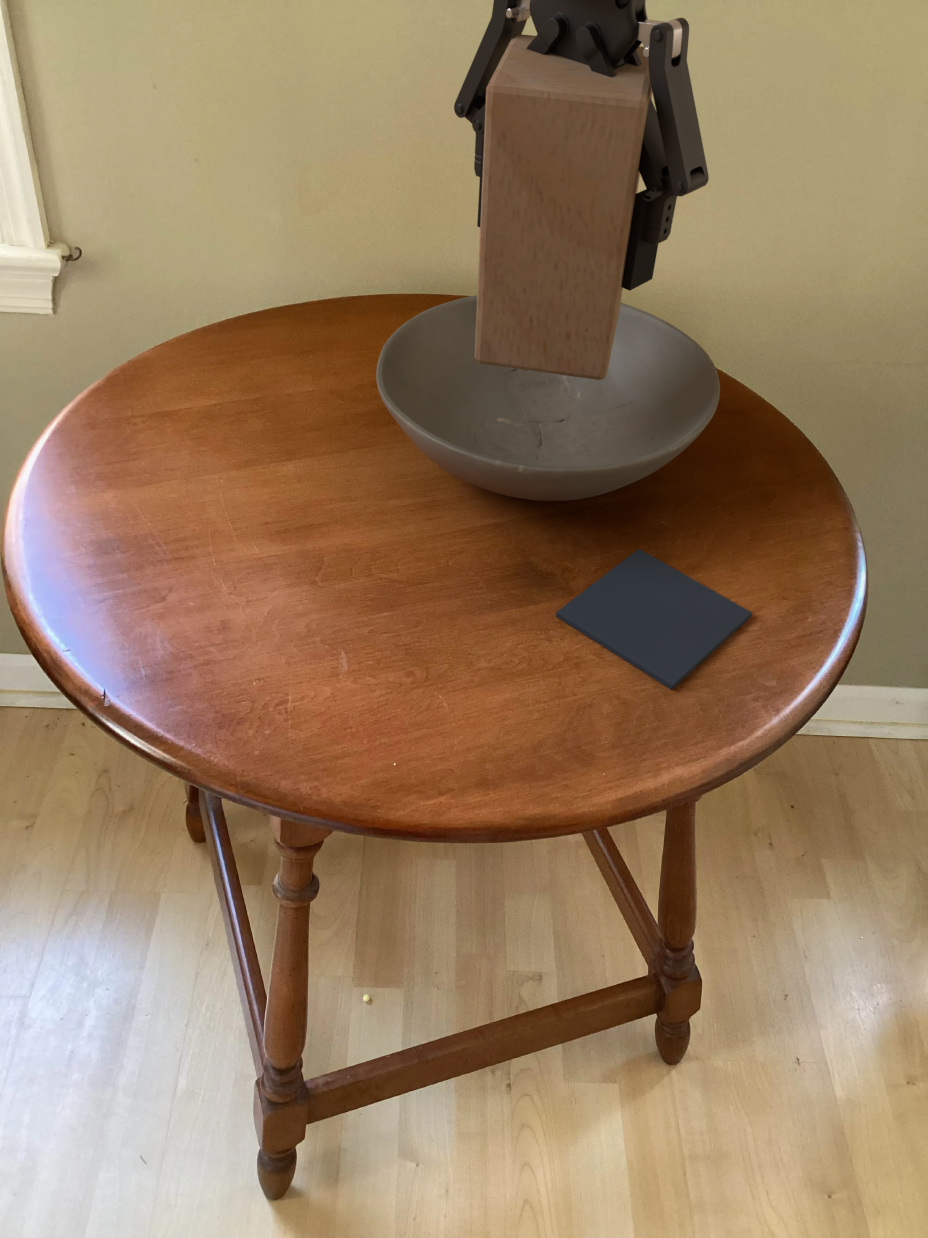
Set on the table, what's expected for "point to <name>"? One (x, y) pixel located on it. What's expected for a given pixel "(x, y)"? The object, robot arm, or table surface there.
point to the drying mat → (654, 617)
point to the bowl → (546, 406)
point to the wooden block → (556, 209)
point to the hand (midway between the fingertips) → (561, 252)
